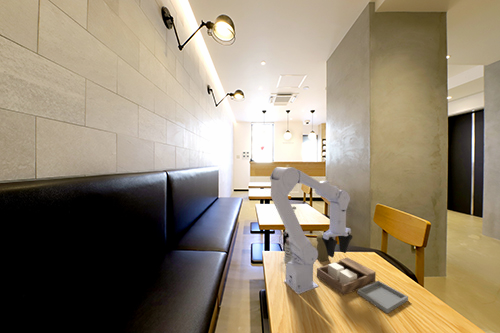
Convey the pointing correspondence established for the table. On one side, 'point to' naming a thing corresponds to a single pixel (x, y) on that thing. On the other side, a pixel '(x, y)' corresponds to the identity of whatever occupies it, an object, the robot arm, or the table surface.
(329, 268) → the cube
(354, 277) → the cube
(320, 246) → the cork
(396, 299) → the slate dish
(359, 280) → the walnut box
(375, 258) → the table surface
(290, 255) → the french press
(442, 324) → the table surface
